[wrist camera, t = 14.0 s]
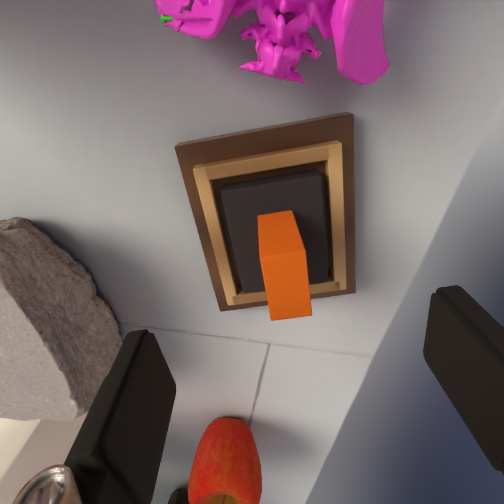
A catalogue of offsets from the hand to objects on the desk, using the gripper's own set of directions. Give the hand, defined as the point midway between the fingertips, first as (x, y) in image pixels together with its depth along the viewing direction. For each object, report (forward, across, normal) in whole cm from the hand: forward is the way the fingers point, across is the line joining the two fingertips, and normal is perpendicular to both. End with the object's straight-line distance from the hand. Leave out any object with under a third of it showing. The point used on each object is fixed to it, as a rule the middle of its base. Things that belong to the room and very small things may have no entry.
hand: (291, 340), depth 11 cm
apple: (+11, +7, +22) cm, 26 cm away
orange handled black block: (+10, 0, +1) cm, 10 cm away
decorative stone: (+12, +17, +4) cm, 21 cm away
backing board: (+12, 0, +1) cm, 12 cm away
